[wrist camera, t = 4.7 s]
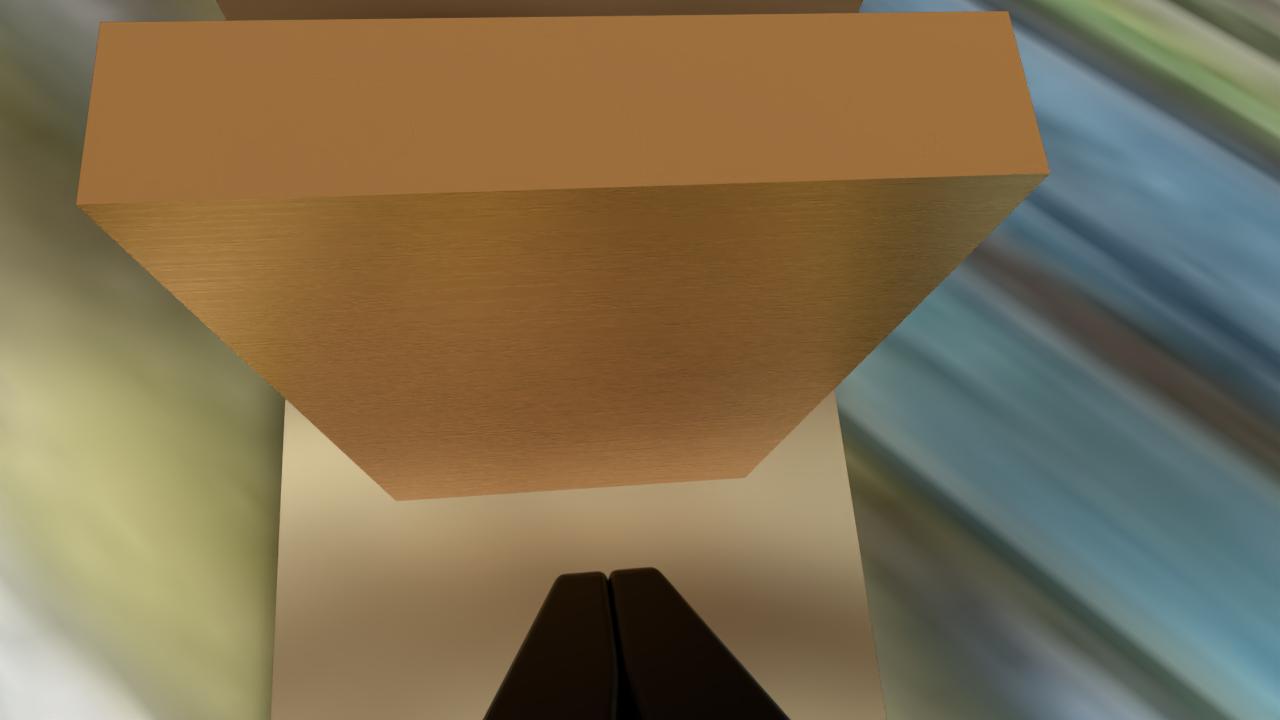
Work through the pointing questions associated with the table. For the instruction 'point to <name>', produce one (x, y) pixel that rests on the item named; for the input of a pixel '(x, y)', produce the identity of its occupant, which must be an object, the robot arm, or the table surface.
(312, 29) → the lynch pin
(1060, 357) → the table surface
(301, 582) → the hitch block
